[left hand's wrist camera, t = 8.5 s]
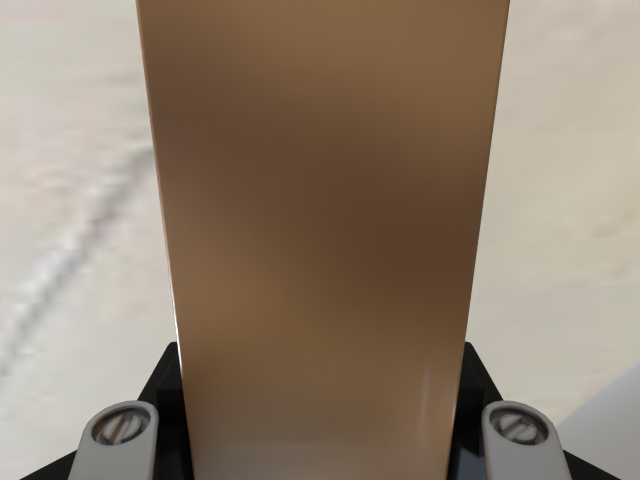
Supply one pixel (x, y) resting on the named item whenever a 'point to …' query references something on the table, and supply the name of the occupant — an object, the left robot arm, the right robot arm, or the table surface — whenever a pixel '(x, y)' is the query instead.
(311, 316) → the bar
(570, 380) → the table surface
